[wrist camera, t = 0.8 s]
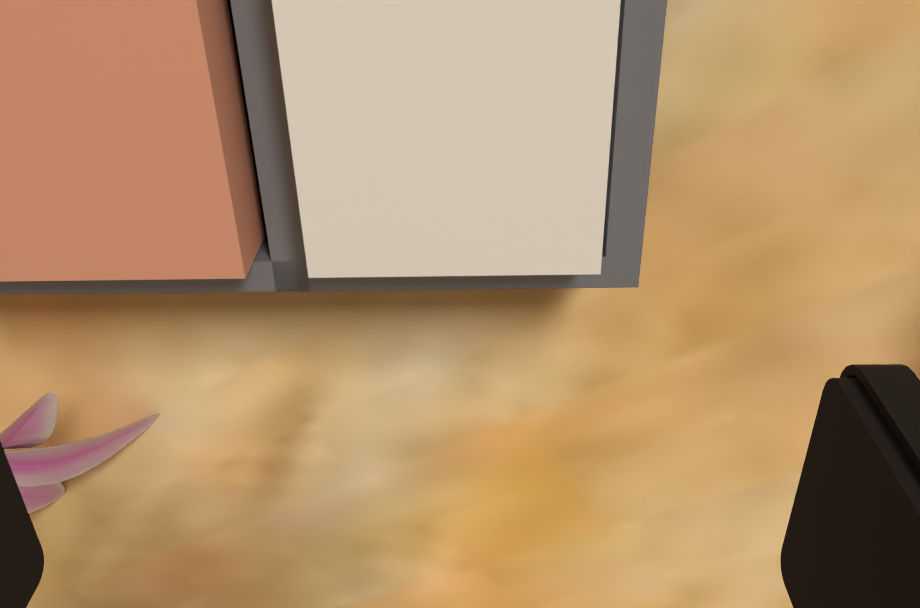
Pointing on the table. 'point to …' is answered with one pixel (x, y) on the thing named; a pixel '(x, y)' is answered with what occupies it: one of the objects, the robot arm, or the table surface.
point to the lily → (56, 452)
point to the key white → (449, 133)
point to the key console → (287, 271)
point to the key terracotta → (123, 143)
